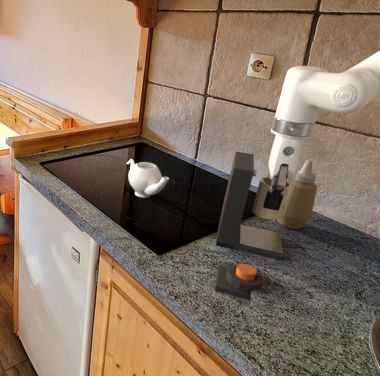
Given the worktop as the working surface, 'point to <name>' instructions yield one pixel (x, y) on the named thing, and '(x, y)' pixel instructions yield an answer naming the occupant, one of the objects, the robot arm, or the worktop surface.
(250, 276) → the button
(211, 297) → the worktop surface
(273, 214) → the cup
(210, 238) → the worktop surface
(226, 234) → the coffee maker
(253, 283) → the dark grey button base
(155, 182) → the teapot
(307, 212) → the squeeze bottle
